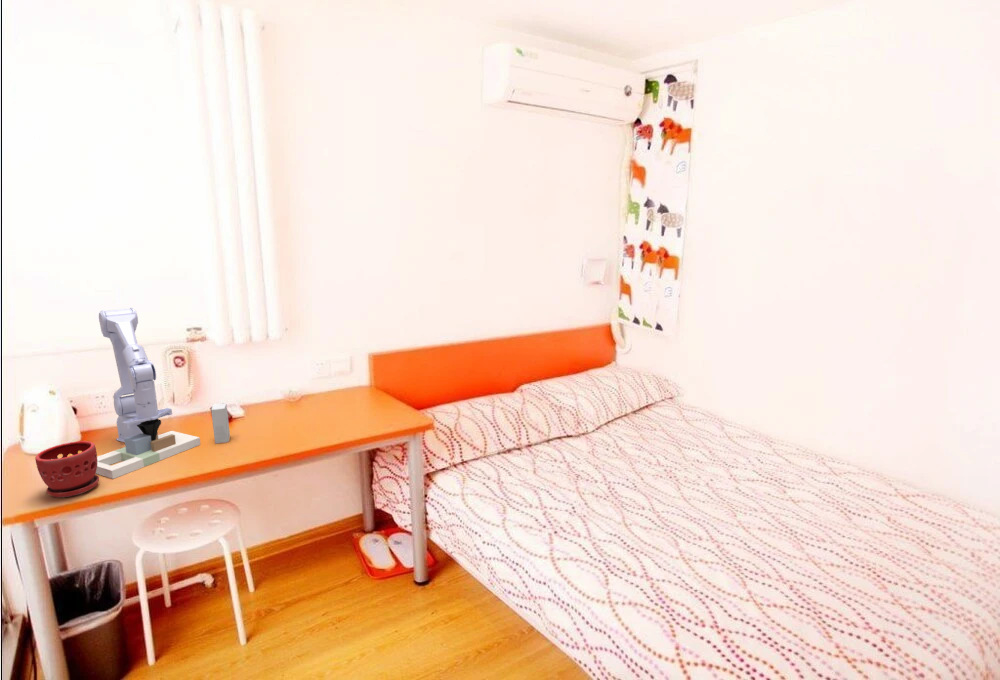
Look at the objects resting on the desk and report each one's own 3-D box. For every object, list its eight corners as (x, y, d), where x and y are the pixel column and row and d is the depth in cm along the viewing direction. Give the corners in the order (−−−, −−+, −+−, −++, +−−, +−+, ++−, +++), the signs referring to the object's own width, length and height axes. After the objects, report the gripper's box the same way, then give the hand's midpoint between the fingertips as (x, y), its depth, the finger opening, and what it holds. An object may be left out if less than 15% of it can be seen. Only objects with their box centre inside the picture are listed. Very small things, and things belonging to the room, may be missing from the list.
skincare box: (216, 437, 193) (212, 404, 191) (230, 435, 195) (226, 402, 192) (214, 444, 188) (210, 409, 185) (228, 442, 189) (225, 408, 187)
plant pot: (90, 475, 165) (83, 436, 162) (109, 487, 157) (103, 447, 155) (34, 492, 154) (27, 451, 152) (53, 506, 147) (45, 463, 144)
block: (126, 452, 175) (124, 438, 174) (142, 446, 179) (140, 433, 178) (136, 455, 173) (134, 441, 172) (152, 449, 177) (150, 435, 176)
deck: (83, 469, 168) (81, 452, 167) (172, 437, 193) (170, 422, 192) (113, 478, 163) (110, 460, 161) (200, 444, 187) (198, 428, 186)
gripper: (130, 410, 168) (136, 453, 171) (176, 396, 181) (181, 437, 184) (115, 407, 171) (122, 449, 174) (161, 394, 184) (166, 433, 187)
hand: (151, 442), depth 179 cm, fingers closed
